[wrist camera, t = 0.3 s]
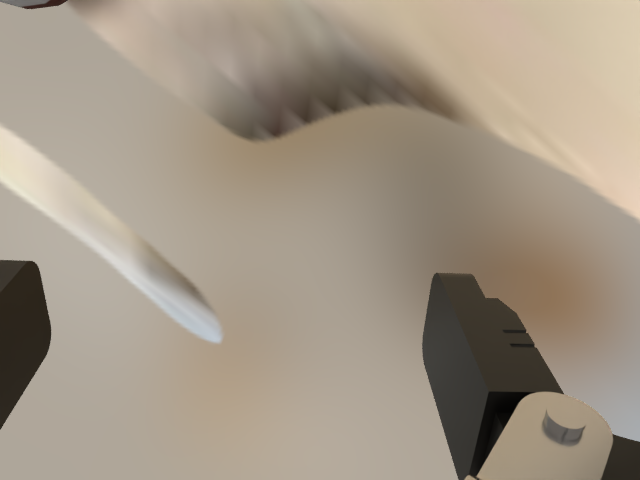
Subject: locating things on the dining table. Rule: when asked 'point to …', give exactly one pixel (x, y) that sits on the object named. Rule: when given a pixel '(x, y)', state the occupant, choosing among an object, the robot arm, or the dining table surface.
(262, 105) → the dining table surface
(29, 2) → the mate gourd
